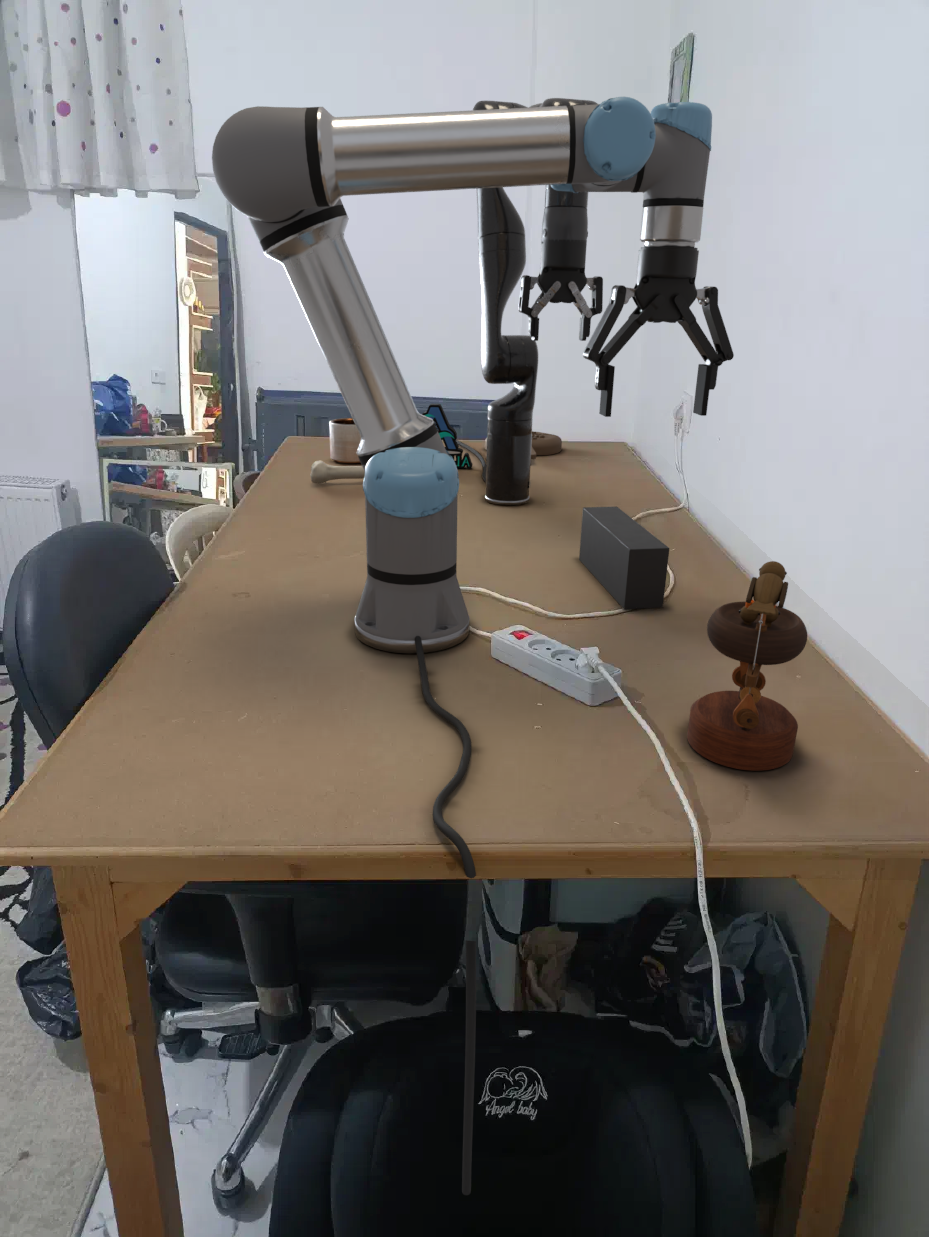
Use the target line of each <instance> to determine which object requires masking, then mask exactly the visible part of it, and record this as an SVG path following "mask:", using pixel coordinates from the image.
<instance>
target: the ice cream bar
mask: <svg viewBox="0 0 929 1237" xmlns="http://www.w3.org/2000/svg"><path fill="white" fill-rule="evenodd" d="M562 446H563V441H562V438H561V437H560V436H559V435H556V434H551V433H547V432H540V431H532V443H531V460H537V456H548V455H554V454H558V453H560V452H561V451H562ZM484 449H485V450H486V451H487V437H486V438H485V439H484Z"/></svg>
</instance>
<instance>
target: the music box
mask: <svg viewBox="0 0 929 1237" xmlns="http://www.w3.org/2000/svg"><path fill="white" fill-rule="evenodd" d="M758 571H759V573H758V574H759V576H758V577H757V576H752V578H751V580H750V583H749V587H748V591H747V595H746V598H745V601H733V602H728V603H725V604H722V605H720V606H718V607H717V608H716V609H715V610H714V611H713V612H712V613H711V614H710V616H709V618H708V621H707V624H706V633H707V637H708V640H709V642H710V643H711V645H712V646H713V648H715V650H716V651H717V652H719V653H721V655H723V656H725V657H727V658H728V659H729V658H730V659H732V660H735V661H738V662H739V665H738V666H736V667H735V668H734V669H733V671H732V673H731V679H732V682H733V684H735V686H737V687H739V689H738V690H720V691H719V690H718V691H714V692H710V693H707V694H705V695H703V696H701V697H699V698H697V699H696V700H695V701H694V702H693V703H692V704H691V707H690V710H689V711H690V712H689V718H688V726H687V734H686V737H687V741H688V744H689V745H690V747H691V748H692V749H693V750H694V751H695V752H696V753H697V754H699V755H700V756H702V757H704V758H705V759H707V760H709V761H711V762H713V763H715V764H718V765H720V766H723V767H728V768H731V769H737V770H741V771H753V772H754V771H755V772H756V771H760V772H761V771H769V770H774V769H778V768H781V767H783V766H785V765H786V764H788V763H789V762H790V761H791V759H793V756H794V750H795V746H796V745H795V744H796V740H797V733H798V729H799V723H798V721H797V719H796V718H795V716H794V715H793V713H791V712H790V711H789V710H788V708H786V707H785V706H784V705H782V704H781V703H779V702H777V701H776V700H774V699H771V698H769V697H766V696H764V695H762V692H761V691H762V690H763V689H764V688H765V686H766V681H767V680H766V677H765V675H764V673H762V671H761V669H762V666H775V665H780V664H781V665H782V664H785V663H788V662H790V661H792V660H794V659H795V658H797V657H798V656H800V655H801V654H802V653H803V651H804V649H805V647H806V645H807V642H808V630H807V627H806V624H805V622H804V620H802V618H801V617H800V616H799V615H798V614H797V613H795V612H793V611H791V610H789V609H787V608H785V607H784V605H785V602H786V598H787V594H788V588H789V582H788V581H784V580H785V578H786V575H788V572H787V571H786V569H785V567H784V565H783V564H782V563H780V562H778V561H775V560H770V561H767V562H765V563H764V564H763V565H761V567H760V568H759V569H758ZM777 604H778V605H777Z"/></svg>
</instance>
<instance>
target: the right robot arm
mask: <svg viewBox="0 0 929 1237" xmlns="http://www.w3.org/2000/svg"><path fill="white" fill-rule="evenodd" d="M593 104H598V102H597V101H594V100H589V99H575V98H563V97H550V98H546V99H545V100H544V101H543V102H540V103H535V104H532V105H530V106H529V107H528V106H526V105H524V104H520V103H518V102H511V101H498V100H479V101H477V102H476V103H475V104H474V106H473V108H472V110H491V109H511V108H532V107H552V106H576V105H593ZM544 189H545V191H544V209H543V210H544V211H543V217H542V222H541V224H542V225H541V242H540V243H541V244H540V245H541V246H540V265H539V274H538V275H537V276H530V275H528V274H524V275H523V273H524V270H525V267H526V264H527V246H526V243H527V242H526V229H525V225H524V222H523V220H522V217H521V216H520V215H521V214H520V213H519V212H518V210H517V208H516V207H515V205H514V204H513V202H512V200H511V199H510V197H509V196H508V194H507V192H506V191H505V189H504V187H498V188H479V189H475V191H476V209H477V210H476V212H477V214H476V215H477V250H478V266H479V281H480V282H479V283H480V297H481V298H480V300H481V301H480V302H481V304H480V305H481V316H480V318H481V320H480V322H481V323H480V367H481V374H482V376H483V379H484V381H485V382H486V383H488V384H491V385H502V384H503V385H509V384H513V386H512V388H511V390H510V391H509V392H508V393H506V394H505V395H503V396H501V397H499V398H497V399H495V400H493V401H491V402H489V403H488V405H487V415H486V416H487V417H486V418H487V422H486V438H487V450H486V458H484V456H483V455H481V453H479V451H477V450H476V449H475V448H473V447H471V445H470V446H469V445H468V444H466V443H464V442H462V441H460V440H458V439H456V441H457V444H458V446H460V447H461V448H464V449H466V450H468V451H470V452H471V453H473V455H475V456H476V457H477V458H478V459H479V460H480V462H481V465H482V474H481V477H482V479H483V481H484V483H485V494H484V500H485V502H487V503H490V504H494V505H500V506H520V505H524V504H527V503H529V502H530V486H531V481H532V480H531V462H532V461H531V460H532V459H531V443H532V432H533V417H534V416H533V415H534V414H533V413H534V408H535V403H536V391H537V390H536V389H537V380H538V371H539V348H538V343H537V342H538V341H539V335H540V329H539V328H540V318H539V315H540V313H541V312H542V311H543V309H544V308H545V307H547V305H548V304H549V303H550V304H559V303H563V304H573V305H574V306H575V307H576V309H577V311H578V312H579V314H580V315H581V317H580V318H579V330H578V340H579V341H580V342H583V341H584V342H585V341H587V338H589V337H590V335H591V323H592V318H593V317H594V316H596V315H600V314H602V313H603V306H604V305H603V303H604V301H603V300H604V299H603V296H604V294H603V293H604V278H603V277H602V276H601V275H600V276H599V275H595V276H593V277H587V276H586V259H587V246H588V245H587V243H588V237H589V231H588V229H589V217H588V205H589V192H578V193H573V192H570V191H557V190H554V189H553V188H552V187H551V185H545V188H544ZM519 281H520V284H519V285H520V286H519V296H518V297H519V298H518V307H517V310H518V313H521V314H523V315H526V316H527V317H528V332H527V333H528V334H502V323H503V317H504V312H505V309H506V306H507V304H508V301H509V300H510V298H511V296H512V294H513V292H514V290H515V288H516V286H517V285H518V283H519ZM536 284H537V286H538V288H539V290H540V291H541V293H540V294H539V295H538V297H537V298H536V299H535V301H534V303H533V304H532V306H531V307H529V305H530V296H531V290H533V289H534V288H535V285H536ZM586 286H588V290H590V291H591V307H589V305H588V303H587V301H586V299H585V298H584V296H583V294H582V292H583V290H584V289H585V287H586ZM485 459H486V461H485Z"/></svg>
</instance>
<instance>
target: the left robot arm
mask: <svg viewBox="0 0 929 1237" xmlns="http://www.w3.org/2000/svg"><path fill="white" fill-rule="evenodd" d="M712 129H713V113H712V111H711V109H710V107H708V105H706V104H703V103H700V102H691V101H678V102H677V101H676V102H665V103H660V104H657V105H655V106H654V107H653V108H652V109H651V111H650V110H649V109H648V107H647V106H646V105H644V104H643V103H642V102H641V101H639V100H638V99H635V98H634V97H630V96H616V97H610V98H608V99H606V100H604V101H602V102H601V103H597V104H593V105H576V106H552V107H532V108H529V107H528V108H511V109H491V110H473V109H472V110H456V111H455V110H454V111H435V112H434V111H433V112H413V113H412V112H411V113H391V114H374V115H373V114H372V115H353V116H351V115H350V116H334V115H332V114H331V113H330V112H329V111H328V110H327V108H325V107H324V106H312V107H305V106H304V107H297V106H296V107H292V106H291V107H289V106H288V107H287V106H259V105H257V106H251V107H246V108H243V109H240V110H238V111H237V112H235V113H233V114H232V115H231V116H229V117H228V118H227V119H226V120H225V121H224V122H223V124H222V125H221V126H220V128H219V130H218V132H217V133H216V135H215V138H214V141H213V145H212V151H211V152H212V153H211V164H212V172H213V175H214V179H215V182H216V184H217V186H218V189H219V190H220V192H221V195H222V196H223V197H224V198H225V200H226V201H227V202H228V203H229V204H230V205H231V206H232V207H233V208H234V209H235V210H236V211H238V212H239V213H241V214H242V215H243V216H245V217H247V218H248V220H249V223H250V225H251V227H252V229H253V232H254V234H255V236H256V238H257V240H258V243H259V245H260V246H261V249H262V251H263V254H264V256H266V257H267V258H270V259H272V260H274V261H276V262H278V263H280V264H281V265H282V266H283V268H284V270H285V272H286V275H287V277H288V279H289V281H290V284H291V286H292V288H293V291H294V293H295V295H296V297H297V299H298V301H299V304H300V306H301V308H302V310H303V312H304V314H305V315H304V316H305V317H306V319H307V321H308V323H309V325H310V328H311V330H312V333H313V335H314V337H315V339H316V342H317V343H318V345H319V347H320V350H321V352H322V355H323V356H324V360H325V361H326V364H327V365H328V368H329V369H330V372H331V374H332V376H333V379H334V381H335V383H336V385H337V387H338V389H339V392H340V394H341V396H342V399H343V400H344V403H345V405H346V407H347V410H348V412H349V413H350V416H351V418H353V420H354V423H355V425H356V427H357V429H358V431H359V434H360V436H361V442H360V445H359V447H358V450H357V456H358V458H359V460H360V462H361V463H360V464H361V466H362V467H363V469H364V471H365V477H364V479H362V480H363V481H362V490H363V493H364V502H365V504H364V505H365V508H364V509H365V541H366V542H365V543H366V544H365V545H366V547H365V548H366V579H365V584H364V586H363V589H362V592H361V596H360V600H359V602H358V606H357V609H356V612H355V615H354V633H355V636H356V638H357V639H358V640H359V641H360V642H362V643H363V644H365V645H367V646H368V647H371V648H374V649H377V650H380V651H384V652H390V653H396V654H397V653H398V654H416V657H417V663H418V670H419V676H420V682H421V691H422V695H423V697H424V700H425V702H426V703H427V705H428V706H429V707H430V709H431V710H432V711H433V712H434V713H435V714H436V715H438V716H439V717H441V718H442V719H443V720H445V721H447V722H448V723H449V724H450V725H452V726H453V727H454V728H455V729H456V730H457V732H458V733H459V735H460V737H461V740H462V753H461V758H460V761H459V765H458V768H457V770H456V773H455V774H454V775H453V777H452V778H451V779H450V781H449V782H448V783H447V784H446V785H445V786H444V787H443V788H442V789H441V791H440V792H439V793H438V795H437V796H436V798H435V800H434V803H433V806H432V820H433V822H434V824H435V826H436V828H437V829H438V830H439V831H440V832H441V833H442V834H443V835H444V836H445V837H446V838H447V839H448V840H450V842H451V843H453V845H454V846H455V847H456V849H457V850H458V853H459V855H460V858H461V860H462V864H463V870H464V873H465V876H466V877H467V878H468V879H474V878H475V877H476V876H477V872H476V867H475V862H474V859H473V855H472V853H471V851H470V848H469V846H468V844H467V842H466V841H465V840H464V839H463V837H462V836H461V834H460V833H458V832H457V831H456V830H455V829H454V828H453V827H451V825H450V824H448V823H447V822H446V821H445V819H444V817H443V808H444V805H445V803H446V801H447V799H449V797H450V796H451V795H452V794H453V792H454V791H455V790H456V789H457V787H458V786H459V785H460V784H461V783H462V781H463V780H464V778H465V776H466V774H467V771H468V768H469V764H470V761H471V755H472V748H473V746H472V739H471V736H470V733H469V731H468V729H467V728H466V726H465V725H464V724H463V722H462V721H461V720H460V719H459V718H457V717H456V716H455V715H453V714H452V713H451V712H449V711H448V710H446V709H444V708H443V707H442V706H441V705H440V704H438V702H436V700H435V699H434V697H433V695H432V692H431V688H430V680H429V676H428V670H427V665H426V659H425V653H433V652H439V651H443V650H446V649H449V648H452V647H455V646H457V645H458V644H460V643H462V642H463V641H464V640H466V639H467V637H468V636H469V634H470V615H469V612H468V608H467V606H466V601H465V599H464V596H463V593H462V589H461V586H460V583H459V581H458V577H457V561H458V560H457V559H458V558H457V557H458V556H457V554H458V493H459V491H460V477H459V470H458V468H457V466H456V464H455V462H454V461H455V459H454V460H453V458H452V456H450V455H449V452H448V451H447V450H446V449H445V447H446V446H445V444H444V442H443V440H441V438H440V435H439V433H438V427H437V425H436V423H435V422H434V421H433V420H432V419H431V418H429V417H426V416H424V415H422V413H420V412H419V411H418V409H417V407H416V403H415V402H414V399H413V396H412V395H411V393H410V392H411V391H410V390H409V388H408V386H407V382H406V380H405V378H404V375H403V373H402V372H401V368H400V366H399V364H398V361H397V359H396V357H395V355H394V353H393V350H392V348H391V345H390V343H389V341H388V338H387V336H386V334H385V331H384V329H383V326H382V324H381V321H380V319H379V316H378V315H377V312H376V310H375V307H374V305H373V303H372V300H371V298H370V295H369V293H368V291H367V288H366V286H365V284H364V282H363V279H362V277H361V275H360V272H359V270H358V268H357V265H356V262H355V260H354V257H353V256H352V253H351V251H350V249H349V246H348V244H347V241H346V239H345V232H346V228H347V226H348V222H349V215H348V213H347V211H346V208H345V206H344V204H343V201H342V197H346V196H349V197H350V196H366V195H383V194H384V195H385V194H400V193H402V194H403V193H421V192H439V191H442V192H443V191H458V190H476V189H479V188H498V187H503V188H510V187H511V188H514V187H515V188H516V187H534V186H546V185H551V187H552V188H553V189H554V190H557V191H570V192H573V193H578V192H588V193H633V194H637V193H642V196H643V198H642V210H641V222H640V223H641V224H640V232H639V233H640V235H639V241H640V242H641V243H643V246H641V247H640V248H639V250H638V256H637V267H636V268H637V269H636V283H635V285H634V287H626V286H625V285H621V284H615V285H613V286H612V288H611V290H610V296H609V300H608V304H607V306H606V308H605V310H604V311H603V314H602V315H601V318H600V319H599V321H598V323H597V325H596V327H595V329H594V331H593V332H592V335H591V337H590V338H589V341H588V343H587V344H586V347H585V348H584V350H583V352H582V357H583V359H585V360H588V361H591V362H592V363H594V364H595V377H594V387H595V390H597V391H600V398H599V399H600V400H599V415H601V416H603V417H606V418H610V417H612V408H613V393H614V384H615V382H614V381H615V369H616V366H614V365H612V364H610V363H611V362H612V361H613V360H614V359H615V358H616V356H617V355H618V353H619V352H620V351H621V350H622V349H623V348H624V347H625V345H626V344H627V343H628V342H629V341H630V340H631V338H632V337H634V335H635V334H636V332H638V330H639V329H640V328H641V327H643V326H644V325H645V324H646V323H652V324H660V323H662V322H663V323H670V324H676V323H677V324H679V325H680V326H681V327H682V329H683V331H684V332H685V333H686V335H687V337H688V338H689V340H690V341H691V342H692V344H693V346H694V347H695V349H696V351H697V352H698V354H699V355H700V357H701V358H702V360H703V361H704V363H698V366H697V373H696V374H697V376H696V384H695V391H694V392H695V393H694V401H693V402H694V403H693V410H692V413H693V414H695V415H698V416H702V417H703V416H704V417H706V416H707V414H708V405H709V396H710V390H715V388H716V386H717V378H718V371H719V367H720V366H722V365H723V363H724V362H727V361H732V360H733V359H734V356H735V354H734V350H733V348H732V345H731V341H730V339H729V335H728V332H727V329H726V326H725V323H724V320H723V317H722V313H721V309H720V308H719V289H718V287H717V286H708V285H705V286H703V288H697V287H696V278H697V272H698V264H699V263H698V262H699V255H700V254H699V253H700V250H698V247H696V243H697V244H698V243H699V242H700V241H701V236H702V228H703V226H702V225H703V217H704V204H705V194H706V193H705V192H706V187H707V186H706V185H707V178H708V170H709V163H710V155H711V152H712ZM630 299H632V300H633V302H634V304H635V306H636V308H635V309H634V310H633V311H632V312H631V313H630V314H629V316H628V318H627V320H625V322H624V323H623V324H622V326H620V328H619V329H618V330H617V332H616V333H615V334H614V335H613V337H611V339H610V340H608V342H607V343H606V341H607V339H608V338H609V336H610V333H611V331H612V330H613V327H614V325H615V324H616V322H617V320H618V318H619V316H620V315H621V312H622V310H623V308H624V306H625V305H626V304H628V303H629V302H630ZM696 299H697V302H698V304H699V305H701V309H702V313H703V317H704V319H705V322H706V325H707V328H708V331H709V334H710V337H711V340H712V343H713V344H712V343H711V341H710V340H709V338H708V336H706V334H705V332H704V331H703V329H702V328H701V326H700V324H699V323H698V321H697V318H696V316H695V315H694V313H693V311H692V310H691V308H690V307H691V306H692V305H693V303H694V302H695V301H696ZM605 343H606V345H605ZM476 1022H477V941H476V940H465V1046H464V1048H465V1049H464V1051H465V1054H464V1055H465V1056H464V1091H463V1092H464V1093H463V1094H464V1095H463V1124H462V1126H463V1128H462V1162H461V1164H462V1165H461V1166H462V1168H461V1169H462V1170H461V1178H462V1180H461V1192H462V1195H464V1196H469V1195H470V1194H471V1193H472V1192H471V1191H472V1163H473V1162H472V1157H473V1129H474V1128H473V1127H474V1098H475V1097H474V1096H475V1071H476V1070H475V1068H476V1032H477V1030H476V1029H477V1028H476V1026H477V1024H476Z"/></svg>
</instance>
